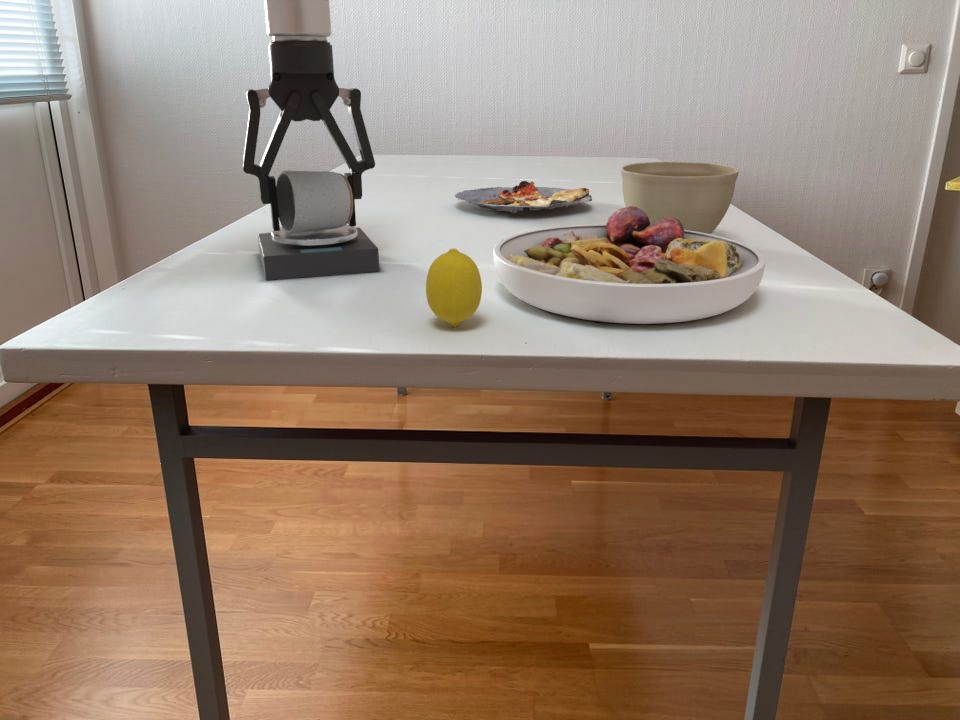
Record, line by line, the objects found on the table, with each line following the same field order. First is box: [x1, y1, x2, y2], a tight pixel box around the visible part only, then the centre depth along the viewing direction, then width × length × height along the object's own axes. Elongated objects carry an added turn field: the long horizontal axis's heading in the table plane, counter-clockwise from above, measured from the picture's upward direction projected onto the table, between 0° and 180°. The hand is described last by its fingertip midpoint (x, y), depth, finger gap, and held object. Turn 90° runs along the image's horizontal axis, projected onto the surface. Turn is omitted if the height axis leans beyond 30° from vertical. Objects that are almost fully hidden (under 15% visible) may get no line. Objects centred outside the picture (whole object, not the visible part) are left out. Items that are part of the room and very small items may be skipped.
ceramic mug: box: [276, 169, 353, 233], centre depth 100 cm, size 11×8×8 cm
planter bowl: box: [620, 161, 740, 235], centre depth 112 cm, size 16×16×11 cm
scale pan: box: [271, 223, 358, 246], centre depth 102 cm, size 11×11×1 cm
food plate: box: [454, 180, 593, 214], centre depth 142 cm, size 25×23×4 cm
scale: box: [257, 226, 380, 281], centre depth 102 cm, size 14×14×3 cm
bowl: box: [492, 206, 766, 325], centre depth 88 cm, size 30×30×8 cm
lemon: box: [425, 248, 483, 328], centre depth 77 cm, size 6×6×8 cm
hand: (314, 226), depth 101 cm, fingers closed on ceramic mug, 9 cm apart
